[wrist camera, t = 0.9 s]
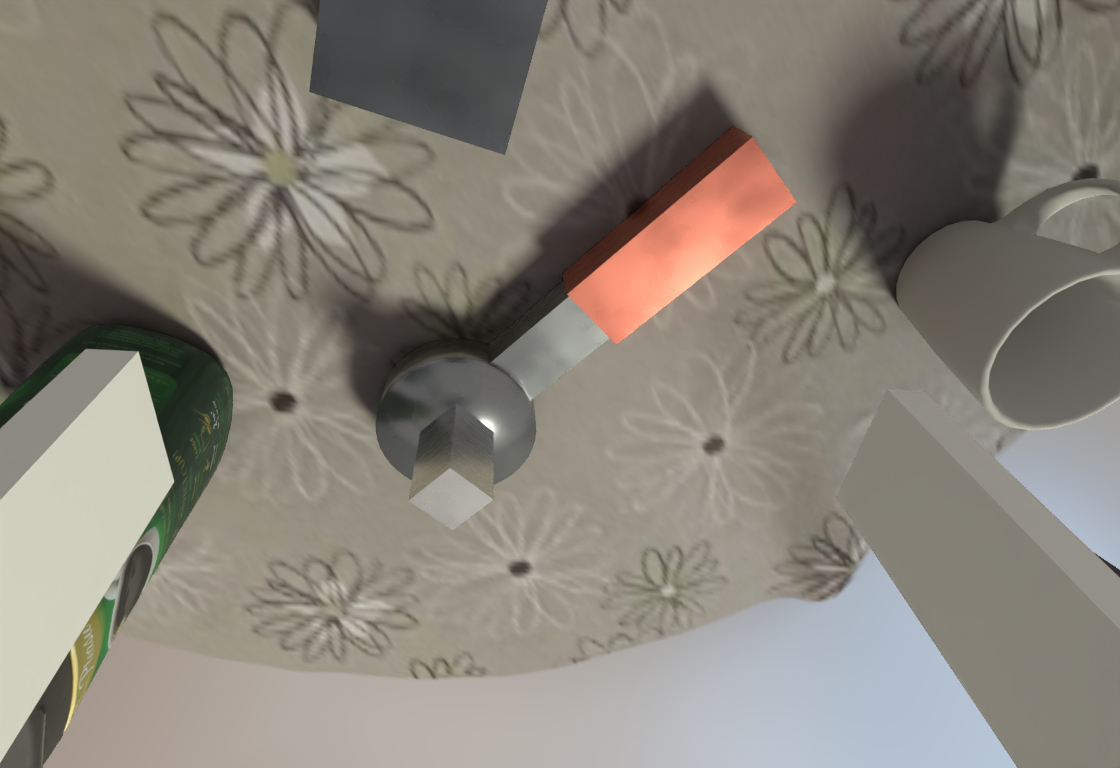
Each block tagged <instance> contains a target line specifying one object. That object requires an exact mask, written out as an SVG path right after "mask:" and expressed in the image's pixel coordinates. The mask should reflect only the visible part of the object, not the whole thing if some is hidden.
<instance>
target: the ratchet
mask: <svg viewBox="0 0 1120 768" xmlns="http://www.w3.org/2000/svg"><path fill="white" fill-rule="evenodd" d="M795 203H796V201H795V199H794V198H793V196H792V195H791V193H790V192H789V190H788V189H787V187H786V186H785V184H784V183H783V181H782V180H781V178H780V177H779V175H778V174H777V173H776V171H775V170H774V168H773V167H772V165H771V164H770V162H769V161H768V159H767V158H766V156H765V155H764V153H763V152H762V150H761V149H760V147H759V146H758V144H757V143H756V141H755V140H754V138H753V137H752V136H750V135H749V134H747V133H745V132H744V131H742V130H740V129H739V128H737V127H735V126H733V127H732V128H731V129H729V130H728V131H727V132H726V133H725V134H724V135H722V136H721V137H720V138H719V139H718V140H717V141H715V142H714V143H713V144H712V145H711V146H710V147H709V148H707V149H706V150H705V151H704V152H703V153H702V154H700V155H699V156H698V157H697V158H696V159H695V160H693V161H692V162H691V163H690V164H689V165H688V166H687V167H685V168H684V169H683V170H682V171H681V172H680V173H678V174H677V175H676V176H675V177H674V178H673V179H671V180H670V181H669V182H668V183H667V184H666V185H665V186H663V187H662V188H661V189H660V190H659V191H658V192H656V193H655V194H654V195H653V196H652V197H651V198H649V199H648V200H647V201H646V202H645V203H644V204H642V205H641V206H640V207H639V208H638V209H637V210H636V211H634V212H633V213H632V214H631V215H630V216H629V217H627V218H626V219H625V220H624V221H623V222H622V223H620V224H619V225H618V226H617V227H616V228H615V229H614V230H612V231H611V232H610V233H609V234H608V235H607V236H605V237H604V238H603V239H602V240H601V241H600V242H598V243H597V244H596V245H595V246H594V247H593V248H592V249H590V250H589V251H588V252H587V253H586V254H585V255H583V256H582V257H581V258H580V259H579V260H578V261H576V262H575V263H574V264H573V265H572V266H571V267H570V268H568V269H567V270H566V271H565V272H564V273H563V274H562V275H563V279H564V280H563V281H562V282H561V283H560V284H559V285H558V286H556V287H555V288H554V289H553V290H552V291H551V292H549V293H548V294H547V295H546V296H545V297H544V298H542V299H541V300H540V301H539V302H538V303H537V304H535V305H534V306H533V307H532V308H531V309H530V310H528V311H527V312H526V313H525V314H524V315H523V316H521V317H520V318H519V319H518V320H517V321H516V322H514V323H513V324H512V325H511V326H510V327H509V328H507V329H506V330H505V331H504V332H503V333H502V334H500V335H499V336H498V337H497V338H496V339H495V340H493V341H492V342H491V343H490V344H489V345H488V344H485V343H482V342H479V341H474V340H468V339H445V340H439V341H435V342H431V343H428V344H425V345H423V346H420V347H418V348H416V349H415V350H413V351H411V352H409V353H408V354H407V355H406V356H404V357H403V358H402V359H401V360H400V361H399V362H398V363H397V364H396V365H395V367H394V368H393V370H392V371H391V372H390V375H389V377H388V379H387V381H386V384H385V388H384V391H383V395H382V398H381V402H380V406H379V409H378V413H377V419H376V434H377V439H378V442H379V445H380V448H381V450H382V452H383V453H384V455H385V457H386V458H387V459H388V461H389V462H390V463H391V464H392V465H393V466H394V467H395V468H396V469H397V470H398V471H399V472H400V473H402V474H403V475H404V476H406V477H408V478H409V479H411V480H412V484H411V490H410V496H409V501H410V502H411V503H413V504H414V505H416V506H417V507H419V508H420V509H422V510H423V511H425V512H426V513H428V514H429V515H431V516H432V517H434V518H435V519H437V520H438V521H440V522H441V523H443V524H444V525H445V526H447V527H448V528H450V529H451V530H454V529H455V528H456V527H458V526H459V525H460V524H462V523H463V522H464V521H466V520H467V519H468V518H470V517H471V516H472V515H474V514H475V513H476V512H477V511H479V510H480V509H481V508H483V507H484V506H485V505H487V504H488V503H489V502H491V501H492V500H493V485H494V484H496V483H498V482H500V481H502V480H504V479H506V478H507V477H509V476H510V475H512V474H513V473H514V472H515V471H516V470H517V469H519V468H520V466H521V465H522V464H523V463H524V462H525V460H526V459H527V457H528V456H529V454H530V452H531V450H532V448H533V445H534V441H535V435H536V421H535V410H534V398H535V397H536V396H537V395H539V394H540V393H541V392H542V391H544V390H545V389H546V388H547V387H549V386H550V385H551V384H552V383H554V382H555V381H556V380H557V379H559V378H560V377H561V376H562V375H564V374H565V373H566V372H567V371H569V370H570V369H571V368H572V367H574V366H575V365H576V364H577V363H579V362H580V361H581V360H582V359H584V358H585V357H586V356H587V355H589V354H590V353H591V352H593V351H594V350H595V349H596V348H598V347H599V346H600V345H601V344H603V343H604V342H605V341H606V340H608V339H609V338H610V339H611V340H612V341H613V342H614V343H615V344H618V343H619V342H620V341H622V340H623V339H624V338H625V337H627V336H628V335H629V334H630V333H632V332H633V331H634V330H635V329H637V328H638V327H639V326H640V325H642V324H643V323H644V322H646V321H647V320H648V319H649V318H651V317H652V316H653V315H654V314H656V313H657V312H658V311H659V310H661V309H662V308H663V307H665V306H666V305H667V304H668V303H670V302H671V301H672V300H673V299H675V298H676V297H677V296H678V295H680V294H681V293H682V292H683V291H685V290H686V289H687V288H689V287H690V286H691V285H692V284H694V283H695V282H696V281H697V280H699V279H700V278H701V277H702V276H704V275H705V274H706V273H708V272H709V271H710V270H711V269H713V268H714V267H715V266H716V265H718V264H719V263H720V262H721V261H723V260H724V259H725V258H726V257H728V256H729V255H730V254H732V253H733V252H734V251H735V250H737V249H738V248H739V247H740V246H742V245H743V244H744V243H745V242H747V241H748V240H749V239H751V238H752V237H753V236H754V235H756V234H757V233H758V232H759V231H761V230H762V229H763V228H764V227H766V226H767V225H768V224H769V223H771V222H772V221H773V220H775V219H776V218H777V217H778V216H780V215H781V214H782V213H783V212H785V211H786V210H787V209H788V208H790V207H791V206H792V205H794V204H795Z"/></svg>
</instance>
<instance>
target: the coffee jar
mask: <svg viewBox="0 0 1120 768" xmlns="http://www.w3.org/2000/svg"><path fill="white" fill-rule="evenodd" d="M85 349H99V350H119V351H139V355H140V359H141V362H142V366H143V370H144V373H145V377H146V381H147V384H148V388H149V392H150V395H151V399H152V402H153V406H154V410H155V413H156V417H157V421H158V424H159V428H160V432H161V435H162V439H163V443H164V446H165V450H166V453H167V457H168V461H169V464H170V468H171V472H172V475H173V479H174V483H173V485H172V486H171V488H170V490H169V491H168V493H167V494H166V496H165V498H164V499H163V501H162V502H161V504H160V506H159V507H158V509H157V511H156V512H155V514H154V515H153V517H152V519H151V520H150V522H149V523H148V525H147V527H146V528H145V530H144V532H143V533H142V535H141V536H140V538H139V540H138V541H137V543H136V544H135V546H134V548H133V549H132V551H131V552H130V554H129V556H128V557H127V559H126V561H125V562H124V564H123V565H122V567H121V569H120V570H119V572H118V573H117V575H116V577H115V578H114V580H113V582H112V583H111V585H110V586H109V588H108V590H107V591H106V593H105V594H104V596H103V598H102V599H101V601H100V603H99V604H98V606H97V607H96V609H95V611H94V612H93V614H92V615H91V617H90V619H89V620H88V622H87V624H86V625H85V627H84V628H83V630H82V632H81V633H80V635H79V636H78V638H77V640H76V641H75V643H74V644H73V646H72V648H71V649H70V651H69V653H68V654H67V656H66V657H65V659H64V661H63V662H62V664H61V665H60V667H59V669H58V670H57V672H56V674H55V675H54V677H53V678H52V680H51V682H50V683H49V685H48V686H47V688H46V690H45V691H44V693H43V695H42V696H41V698H40V699H39V701H38V703H37V704H36V706H35V707H34V709H33V711H32V712H31V714H30V716H29V717H28V719H27V720H26V722H25V724H24V725H23V727H22V728H21V730H20V732H19V733H18V735H17V736H16V738H15V740H14V741H13V743H12V745H11V746H10V748H9V749H8V751H7V753H6V754H5V756H4V757H3V759H2V761H1V762H0V768H43V764H44V763H45V762H46V760H47V759H48V757H49V756H50V754H51V753H52V751H53V750H54V748H55V747H56V745H57V743H58V742H59V741H60V740H61V738H62V736H63V732H64V731H65V730H66V728H67V726H68V725H69V723H70V721H71V719H72V717H73V715H74V713H75V711H76V709H77V708H78V706H79V704H80V702H81V700H82V698H83V696H84V695H85V692H86V691H87V689H88V687H89V685H90V683H91V682H92V680H93V678H94V676H95V674H96V672H97V670H98V668H99V667H100V664H101V663H102V661H103V659H104V657H105V655H106V653H107V652H108V650H109V648H110V646H111V645H112V643H113V641H114V639H115V638H116V636H117V634H118V633H119V631H120V629H121V627H122V626H123V624H124V622H125V621H126V619H127V617H128V615H129V614H130V612H131V610H132V609H133V607H134V606H135V604H136V602H137V600H138V599H139V597H140V595H141V594H142V592H143V590H144V589H145V587H146V585H147V584H148V582H149V580H150V579H151V577H152V575H153V574H154V572H155V570H156V569H157V567H158V565H159V564H160V562H161V560H162V559H163V557H164V555H165V554H166V552H167V550H168V548H169V547H170V545H171V543H172V542H173V540H174V539H175V537H176V535H177V533H178V532H179V530H180V529H181V527H182V526H183V524H184V522H185V521H186V519H187V517H188V516H189V514H190V512H191V511H192V509H193V507H194V506H195V504H196V503H197V501H198V500H199V498H200V496H201V494H202V493H203V491H204V489H205V488H206V486H207V485H208V483H209V481H210V479H211V478H212V476H213V474H214V472H215V471H216V469H217V466H218V464H219V462H220V460H221V457H222V455H223V452H224V449H225V446H226V442H227V439H228V434H229V430H230V425H231V420H232V408H233V390H232V385H231V382H230V379H229V377H228V375H227V372H226V371H225V370H224V369H223V368H222V367H221V366H220V364H219V363H218V362H217V361H216V360H215V359H213V358H212V357H211V356H210V355H208V354H207V353H205V352H204V351H202V350H200V349H198V348H196V347H194V346H192V345H190V344H188V343H186V342H184V341H182V340H179V339H176V338H173V337H170V336H168V335H165V334H162V333H159V332H155V331H151V330H147V329H142V328H138V327H132V326H125V325H117V324H107V325H98V326H93V327H89V328H87V329H84V330H82V331H81V332H79V333H77V334H76V335H75V336H74V337H73V338H71V339H70V340H69V341H68V342H67V343H65V344H64V345H63V346H62V347H61V348H60V349H59V350H58V351H56V352H55V353H54V354H53V355H52V356H51V357H50V358H49V359H48V360H47V361H45V362H44V363H43V364H42V365H41V366H40V367H39V368H38V369H37V370H36V371H35V372H34V373H33V374H32V375H31V376H30V377H29V378H28V379H26V380H25V381H24V382H23V383H22V384H21V385H20V386H19V387H18V388H17V389H16V390H15V391H14V392H13V393H12V394H11V395H10V396H9V397H8V398H7V399H6V400H5V401H4V402H3V403H2V404H1V405H0V428H1V427H2V426H4V425H5V424H6V423H7V422H8V421H9V420H10V419H11V418H12V417H13V416H14V415H15V414H16V413H18V412H19V411H20V410H21V409H22V408H23V407H24V406H25V405H26V404H27V403H28V402H29V401H30V400H32V399H33V398H34V397H35V396H36V395H37V394H38V393H39V392H40V391H41V390H42V389H43V388H44V387H46V386H47V385H48V384H49V383H50V382H51V381H52V380H53V379H54V378H55V377H56V376H57V375H58V374H60V373H61V372H62V371H63V370H64V369H65V368H66V367H67V366H68V365H69V364H70V363H71V362H72V361H74V360H75V359H76V358H77V357H78V356H79V355H80V354H81V353H82V352H83V351H84V350H85Z"/></svg>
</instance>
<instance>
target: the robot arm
mask: <svg viewBox="0 0 1120 768" xmlns="http://www.w3.org/2000/svg"><path fill="white" fill-rule="evenodd" d="M173 483H174V479H173V475H172V472H171V468H170V464H169V461H168V457H167V453H166V450H165V446H164V443H163V439H162V435H161V432H160V428H159V424H158V421H157V417H156V413H155V410H154V406H153V402H152V399H151V395H150V392H149V388H148V384H147V381H146V377H145V373H144V370H143V366H142V362H141V359H140V355H139V351H119V350H99V349H85V350H84V351H83V352H82V353H81V354H80V355H79V356H78V357H77V358H76V359H75V360H74V361H72V362H71V363H70V364H69V365H68V366H67V367H66V368H65V369H64V370H63V371H62V372H61V373H60V374H58V375H57V376H56V377H55V378H54V379H53V380H52V381H51V382H50V383H49V384H48V385H47V386H46V387H44V388H43V389H42V390H41V391H40V392H39V393H38V394H37V395H36V396H35V397H34V398H33V399H32V400H30V401H29V402H28V403H27V404H26V405H25V406H24V407H23V408H22V409H21V410H20V411H19V412H18V413H16V414H15V415H14V416H13V417H12V418H11V419H10V420H9V421H8V422H7V423H6V424H5V425H4V426H2V427H1V428H0V762H1V761H2V759H3V757H4V756H5V754H6V753H7V751H8V749H9V748H10V746H11V745H12V743H13V741H14V740H15V738H16V736H17V735H18V733H19V732H20V730H21V728H22V727H23V725H24V724H25V722H26V720H27V719H28V717H29V716H30V714H31V712H32V711H33V709H34V707H35V706H36V704H37V703H38V701H39V699H40V698H41V696H42V695H43V693H44V691H45V690H46V688H47V686H48V685H49V683H50V682H51V680H52V678H53V677H54V675H55V674H56V672H57V670H58V669H59V667H60V665H61V664H62V662H63V661H64V659H65V657H66V656H67V654H68V653H69V651H70V649H71V648H72V646H73V644H74V643H75V641H76V640H77V638H78V636H79V635H80V633H81V632H82V630H83V628H84V627H85V625H86V624H87V622H88V620H89V619H90V617H91V615H92V614H93V612H94V611H95V609H96V607H97V606H98V604H99V603H100V601H101V599H102V598H103V596H104V594H105V593H106V591H107V590H108V588H109V586H110V585H111V583H112V582H113V580H114V578H115V577H116V575H117V573H118V572H119V570H120V569H121V567H122V565H123V564H124V562H125V561H126V559H127V557H128V556H129V554H130V552H131V551H132V549H133V548H134V546H135V544H136V543H137V541H138V540H139V538H140V536H141V535H142V533H143V532H144V530H145V528H146V527H147V525H148V523H149V522H150V520H151V519H152V517H153V515H154V514H155V512H156V511H157V509H158V507H159V506H160V504H161V502H162V501H163V499H164V498H165V496H166V494H167V493H168V491H169V490H170V488H171V486H172V485H173ZM837 498H838V500H839V501H840V503H841V504H842V506H843V507H844V509H845V510H846V512H847V513H848V515H849V516H850V518H851V519H852V521H853V522H854V524H855V525H856V527H857V528H858V530H859V531H860V533H861V534H862V536H863V537H864V539H865V540H866V542H867V543H868V545H869V546H870V548H871V549H872V551H873V552H874V554H875V555H876V557H877V558H878V560H879V561H880V563H881V564H882V566H883V567H884V569H885V570H886V572H887V573H888V575H889V576H890V578H891V579H892V581H893V582H894V583H895V585H896V587H897V588H898V590H899V591H900V593H901V594H902V596H903V597H904V599H905V600H906V601H907V603H908V605H909V606H910V608H911V609H912V611H913V612H914V614H915V615H916V617H917V618H918V620H919V621H920V622H921V624H922V625H923V627H924V629H925V630H926V631H927V633H928V634H929V636H930V637H931V639H932V640H933V642H934V643H935V645H936V646H937V648H938V649H939V651H940V652H941V654H942V655H943V657H944V658H945V660H946V661H947V663H948V664H949V666H950V667H951V669H952V670H953V672H954V673H955V675H956V676H957V678H958V679H959V681H960V682H961V684H962V685H963V687H964V688H965V690H966V691H967V693H968V694H969V696H970V697H971V699H972V700H973V702H974V703H975V704H976V706H977V708H978V709H979V711H980V712H981V714H982V715H983V717H984V718H985V720H986V721H987V723H988V724H989V726H990V727H991V729H992V730H993V732H994V733H995V735H996V736H997V738H998V739H999V741H1000V742H1001V744H1002V745H1003V747H1004V748H1005V750H1006V751H1007V753H1008V754H1009V755H1010V757H1011V759H1012V760H1013V761H1014V763H1015V764H1016V766H1017V768H1120V570H1119V569H1118V568H1116V567H1115V566H1113V565H1112V564H1110V563H1108V562H1107V561H1105V560H1104V559H1103V558H1101V557H1100V556H1098V555H1097V554H1095V553H1094V552H1092V551H1091V550H1090V549H1089V548H1088V547H1087V546H1086V545H1085V544H1084V543H1083V542H1082V541H1081V540H1080V539H1079V538H1078V537H1077V536H1075V535H1074V534H1073V533H1072V532H1071V531H1070V530H1069V529H1068V528H1067V527H1066V526H1065V525H1064V524H1063V523H1062V522H1061V521H1060V520H1059V519H1058V518H1057V517H1055V515H1053V514H1052V513H1051V512H1050V511H1049V510H1048V509H1047V508H1046V507H1045V506H1044V505H1043V504H1042V503H1041V502H1040V501H1039V500H1038V499H1037V498H1036V497H1035V496H1034V495H1032V494H1031V493H1030V492H1029V491H1028V490H1027V489H1026V488H1025V487H1024V486H1023V485H1022V484H1021V483H1020V482H1019V481H1018V480H1017V479H1016V478H1015V477H1013V476H1012V475H1011V474H1010V473H1009V472H1008V471H1007V470H1006V469H1005V468H1004V467H1003V466H1002V465H1001V464H1000V463H999V462H998V461H997V460H996V459H995V458H994V457H993V456H992V455H991V454H989V453H988V452H987V451H986V450H985V449H984V448H983V447H982V446H981V445H980V444H979V443H978V442H977V441H976V440H975V439H974V438H973V437H972V436H971V435H970V434H968V433H967V432H966V431H965V430H964V429H963V428H962V427H961V426H960V425H959V424H958V423H957V422H956V421H955V420H954V419H953V418H952V417H951V416H950V415H949V414H947V413H946V412H945V411H944V410H943V409H942V408H941V407H940V406H939V405H938V404H937V403H936V402H935V401H934V400H933V399H932V398H931V397H930V396H929V395H928V394H927V393H925V392H924V391H912V390H892V389H887V391H886V394H885V396H884V398H883V400H882V402H881V404H880V406H879V408H878V411H877V413H876V415H875V417H874V419H873V421H872V423H871V425H870V428H869V430H868V432H867V434H866V436H865V438H864V440H863V442H862V444H861V447H860V449H859V451H858V453H857V455H856V457H855V459H854V461H853V464H852V466H851V468H850V470H849V472H848V474H847V476H846V478H845V481H844V483H843V485H842V487H841V489H840V491H839V493H838V495H837Z"/></svg>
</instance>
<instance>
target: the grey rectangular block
mask: <svg viewBox="0 0 1120 768" xmlns="http://www.w3.org/2000/svg"><path fill="white" fill-rule="evenodd" d="M547 1H548V0H320V6H319V14H318V23H317V31H316V39H315V48H314V56H313V65H312V73H311V81H310V90H309V92H312V93H315V94H318V95H321V96H324V97H327V98H330V99H333V100H336V101H340V102H343V103H346V104H349V105H352V106H355V107H358V108H361V109H364V110H367V111H370V112H374V113H377V114H380V115H383V116H386V117H389V118H392V119H395V120H398V121H401V122H405V123H408V124H411V125H414V126H417V127H420V128H423V129H426V130H429V131H432V132H436V133H439V134H442V135H445V136H448V137H451V138H454V139H457V140H460V141H463V142H467V143H470V144H473V145H476V146H479V147H482V148H485V149H488V150H491V151H494V152H497V153H501V154H504V155H505V153H506V149H507V146H508V142H509V138H510V135H511V131H512V128H513V124H514V120H515V117H516V113H517V110H518V106H519V102H520V99H521V95H522V91H523V88H524V84H525V81H526V77H527V73H528V70H529V66H530V63H531V59H532V55H533V52H534V48H535V45H536V41H537V37H538V34H539V30H540V27H541V23H542V19H543V16H544V12H545V8H546V5H547Z"/></svg>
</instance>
